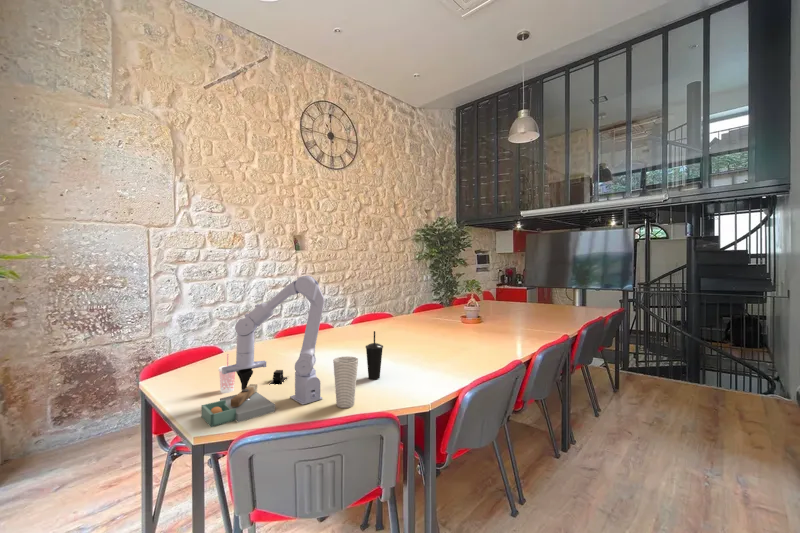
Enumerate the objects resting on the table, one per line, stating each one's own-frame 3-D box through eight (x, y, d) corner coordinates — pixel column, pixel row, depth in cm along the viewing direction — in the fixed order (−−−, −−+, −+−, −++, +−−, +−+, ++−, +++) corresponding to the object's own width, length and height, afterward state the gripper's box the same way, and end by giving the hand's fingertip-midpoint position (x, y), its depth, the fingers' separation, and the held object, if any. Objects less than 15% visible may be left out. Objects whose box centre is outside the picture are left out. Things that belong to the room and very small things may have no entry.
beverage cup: (239, 389, 131) (240, 353, 132) (224, 394, 126) (224, 356, 126) (229, 387, 134) (230, 351, 135) (214, 391, 129) (215, 354, 129)
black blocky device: (282, 387, 136) (282, 375, 136) (264, 387, 136) (264, 375, 136) (290, 377, 149) (290, 366, 149) (273, 377, 148) (273, 367, 148)
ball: (207, 418, 102) (215, 423, 104) (217, 409, 103) (225, 414, 105) (206, 410, 105) (214, 415, 107) (216, 402, 106) (224, 407, 108)
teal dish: (235, 420, 105) (235, 408, 105) (210, 427, 100) (211, 415, 100) (225, 410, 112) (225, 399, 112) (201, 416, 107) (201, 405, 107)
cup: (327, 404, 117) (328, 359, 118) (348, 398, 123) (348, 355, 124) (342, 412, 111) (342, 364, 112) (362, 405, 117) (363, 359, 117)
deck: (274, 411, 111) (274, 404, 111) (237, 422, 103) (238, 414, 103) (254, 397, 124) (254, 390, 124) (219, 405, 116) (219, 398, 116)
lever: (238, 406, 108) (238, 398, 108) (230, 406, 108) (230, 397, 108) (257, 390, 123) (257, 382, 123) (250, 390, 123) (250, 382, 123)
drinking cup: (382, 380, 143) (382, 333, 143) (364, 380, 143) (364, 332, 143) (383, 375, 151) (383, 329, 151) (366, 375, 151) (366, 329, 151)
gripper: (261, 347, 128) (260, 383, 128) (219, 352, 118) (218, 392, 118) (269, 350, 123) (268, 388, 123) (226, 356, 113) (224, 397, 113)
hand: (244, 390), depth 120 cm, fingers closed, pressing on lever
